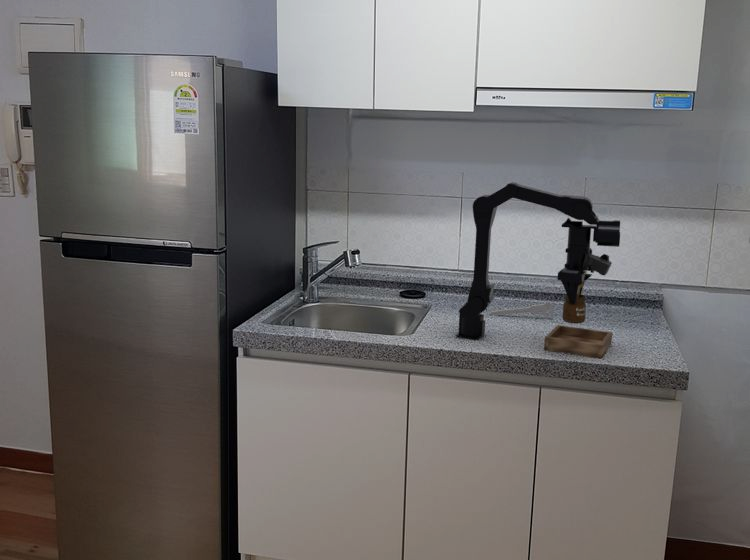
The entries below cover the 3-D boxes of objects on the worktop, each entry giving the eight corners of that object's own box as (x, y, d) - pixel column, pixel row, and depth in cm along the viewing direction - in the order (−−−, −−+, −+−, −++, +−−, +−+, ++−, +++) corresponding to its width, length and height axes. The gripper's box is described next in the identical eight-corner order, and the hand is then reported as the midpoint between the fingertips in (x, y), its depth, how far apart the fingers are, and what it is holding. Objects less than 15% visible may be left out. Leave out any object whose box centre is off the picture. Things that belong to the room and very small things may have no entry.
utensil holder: (558, 321, 196) (560, 277, 194) (569, 316, 201) (571, 274, 199) (578, 325, 193) (581, 280, 190) (589, 320, 197) (592, 277, 195)
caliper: (552, 319, 229) (554, 300, 228) (553, 320, 228) (554, 300, 227) (487, 315, 233) (488, 295, 231) (487, 315, 232) (488, 296, 230)
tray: (543, 349, 195) (544, 337, 194) (556, 336, 208) (557, 324, 207) (601, 358, 188) (602, 345, 188) (611, 344, 201) (612, 332, 201)
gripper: (603, 251, 181) (599, 313, 184) (616, 242, 197) (611, 299, 200) (558, 248, 186) (555, 307, 189) (574, 239, 202) (570, 294, 205)
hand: (574, 302), depth 196 cm, fingers closed on utensil holder, 5 cm apart
